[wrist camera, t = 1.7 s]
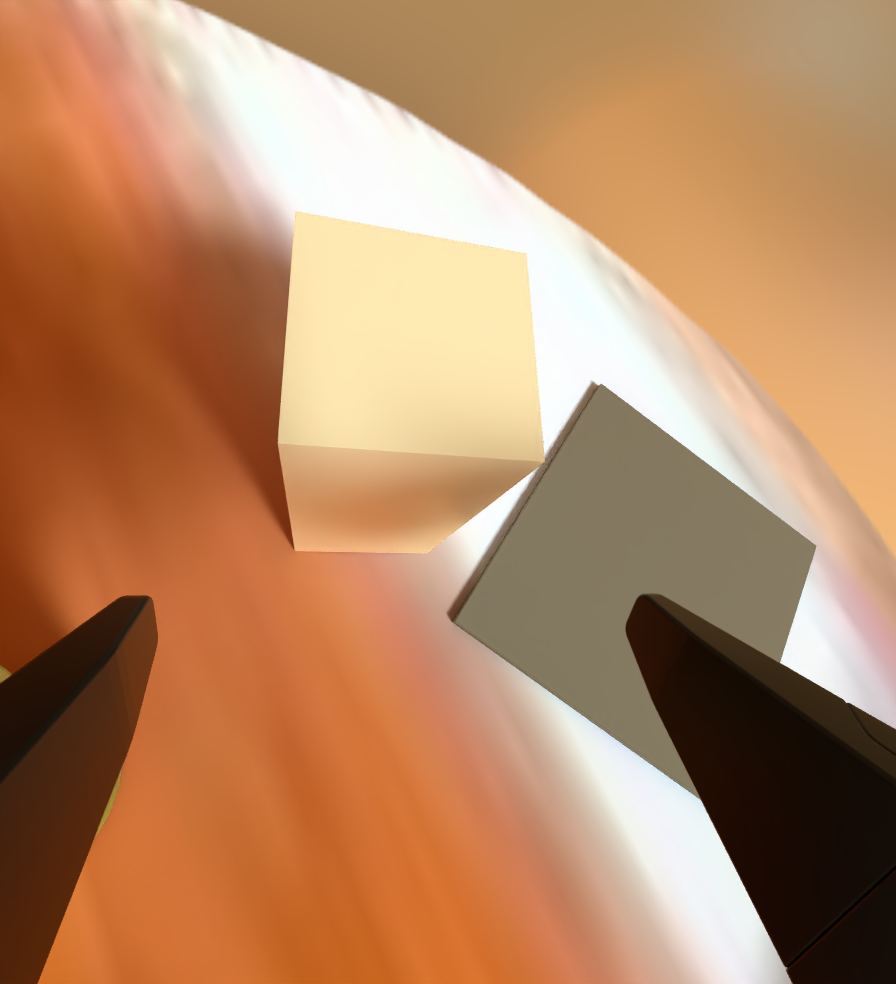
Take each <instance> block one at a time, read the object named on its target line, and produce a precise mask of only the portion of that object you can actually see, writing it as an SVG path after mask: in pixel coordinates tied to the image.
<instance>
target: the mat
mask: <svg viewBox="0 0 896 984" xmlns="http://www.w3.org/2000/svg"><path fill="white" fill-rule="evenodd" d="M815 549H816V545H814V544H813V543H812V542H810V541H809V540H808V539H806V538H805V537H804V536H803V535H801V534H800V533H799V532H797V531H796V530H795V529H793V528H792V527H791V526H789V525H788V524H787V523H785V522H784V521H783V520H781V519H780V518H779V517H777V516H776V515H775V514H773V513H772V512H771V511H769V510H768V509H767V508H765V507H764V506H763V505H761V504H760V503H759V502H757V501H756V500H755V499H753V498H752V497H751V496H749V495H748V494H747V493H746V492H744V491H743V490H742V489H740V488H739V487H738V486H736V485H735V484H734V483H732V482H731V481H730V480H728V479H727V478H726V477H724V476H723V475H722V474H720V473H719V472H718V471H716V470H715V469H714V468H712V467H711V466H710V465H708V464H707V463H706V462H704V461H703V460H702V459H700V458H699V457H698V456H696V455H695V454H694V453H692V452H691V451H690V450H688V449H687V448H686V447H685V446H683V445H682V444H681V443H679V442H678V441H677V440H675V439H674V438H673V437H671V436H670V435H669V434H667V433H666V432H665V431H663V430H662V429H661V428H659V427H658V426H657V425H655V424H654V423H653V422H651V421H650V420H649V419H647V418H646V417H645V416H643V415H642V414H641V413H639V412H638V411H637V410H635V409H634V408H633V407H631V406H630V405H629V404H628V403H626V402H625V401H624V400H622V399H621V398H620V397H618V396H617V395H616V394H614V393H613V392H612V391H610V390H609V389H608V388H606V387H605V386H604V385H602V384H600V385H599V386H598V387H597V388H596V390H595V392H594V393H593V395H592V397H591V398H590V400H589V401H588V403H587V405H586V406H585V408H584V409H583V411H582V413H581V414H580V416H579V418H578V419H577V421H576V422H575V424H574V426H573V427H572V429H571V431H570V432H569V434H568V435H567V437H566V439H565V440H564V442H563V444H562V445H561V447H560V448H559V450H558V452H557V453H556V455H555V457H554V458H553V460H552V461H551V463H550V465H549V466H548V468H547V469H546V471H545V473H544V474H543V476H542V478H541V479H540V481H539V482H538V484H537V486H536V487H535V489H534V491H533V492H532V494H531V495H530V497H529V499H528V500H527V502H526V504H525V505H524V507H523V508H522V510H521V512H520V513H519V515H518V517H517V518H516V520H515V521H514V523H513V525H512V526H511V528H510V529H509V531H508V533H507V534H506V536H505V538H504V539H503V541H502V542H501V544H500V546H499V547H498V549H497V551H496V552H495V554H494V555H493V557H492V559H491V560H490V562H489V564H488V565H487V567H486V568H485V570H484V572H483V573H482V575H481V577H480V578H479V580H478V581H477V583H476V585H475V586H474V588H473V589H472V591H471V593H470V594H469V596H468V598H467V599H466V601H465V602H464V604H463V606H462V607H461V609H460V611H459V612H458V614H457V615H456V617H455V619H454V620H453V623H454V624H456V625H457V626H458V627H460V628H461V629H463V630H464V631H465V632H467V633H468V634H470V635H471V636H472V637H474V638H475V639H477V640H478V641H479V642H481V643H482V644H484V645H485V646H486V647H488V648H489V649H491V650H492V651H493V652H495V653H496V654H498V655H499V656H500V657H502V658H503V659H505V660H506V661H507V662H509V663H510V664H512V665H513V666H514V667H516V668H517V669H519V670H520V671H521V672H523V673H524V674H526V675H527V676H528V677H530V678H531V679H533V680H534V681H535V682H537V683H538V684H540V685H541V686H542V687H544V688H545V689H547V690H548V691H549V692H551V693H552V694H554V695H555V696H556V697H558V698H559V699H561V700H562V701H563V702H565V703H566V704H567V705H569V706H570V707H572V708H573V709H574V710H576V711H577V712H579V713H580V714H581V715H583V716H584V717H586V718H587V719H588V720H590V721H591V722H593V723H594V724H595V725H597V726H598V727H600V728H601V729H602V730H604V731H605V732H607V733H608V734H609V735H611V736H612V737H614V738H615V739H616V740H618V741H619V742H621V743H622V744H623V745H625V746H626V747H628V748H629V749H630V750H632V751H633V752H635V753H636V754H637V755H639V756H640V757H642V758H643V759H644V760H646V761H647V762H649V763H650V764H651V765H653V766H654V767H656V768H657V769H658V770H660V771H661V772H663V773H664V774H665V775H667V776H668V777H670V778H671V779H672V780H674V781H675V782H677V783H678V784H679V785H681V786H682V787H684V788H685V789H686V790H688V791H689V792H691V793H692V794H693V795H695V796H696V797H697V798H699V799H700V797H699V795H698V793H697V791H696V789H695V787H694V785H693V783H692V781H691V779H690V777H689V775H688V773H687V771H686V769H685V767H684V765H683V763H682V761H681V759H680V757H679V755H678V753H677V751H676V749H675V747H674V745H673V743H672V741H671V739H670V737H669V735H668V733H667V731H666V729H665V727H664V725H663V723H662V721H661V719H660V717H659V715H658V713H657V711H656V709H655V707H654V704H653V702H652V700H651V697H650V695H649V693H648V690H647V687H646V685H645V682H644V680H643V677H642V675H641V672H640V669H639V667H638V664H637V662H636V659H635V657H634V654H633V651H632V649H631V646H630V644H629V641H628V639H627V636H626V631H625V625H626V621H627V619H628V617H629V614H630V612H631V610H632V607H633V605H634V603H635V601H636V599H637V597H638V596H639V595H640V594H644V593H657V594H661V595H663V596H665V597H667V598H668V599H670V600H672V601H673V602H675V603H677V604H679V605H680V606H682V607H684V608H686V609H687V610H689V611H691V612H692V613H694V614H696V615H698V616H699V617H701V618H703V619H705V620H706V621H708V622H710V623H712V624H713V625H715V626H717V627H718V628H720V629H722V630H724V631H725V632H727V633H729V634H731V635H732V636H734V637H736V638H738V639H739V640H741V641H743V642H744V643H746V644H748V645H750V646H751V647H753V648H755V649H757V650H758V651H760V652H762V653H764V654H765V655H767V656H769V657H770V658H772V659H774V660H776V661H777V662H779V663H780V661H781V657H782V654H783V651H784V648H785V645H786V642H787V638H788V635H789V632H790V629H791V626H792V622H793V619H794V616H795V613H796V610H797V606H798V603H799V600H800V597H801V594H802V590H803V587H804V584H805V581H806V578H807V575H808V571H809V568H810V565H811V562H812V559H813V555H814V552H815ZM700 800H701V799H700Z"/></svg>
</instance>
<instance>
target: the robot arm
mask: <svg viewBox="0 0 896 984" xmlns="http://www.w3.org/2000/svg"><path fill="white" fill-rule="evenodd" d="M625 631H626V636H627V639H628V641H629V644H630V646H631V649H632V651H633V654H634V657H635V659H636V662H637V664H638V667H639V669H640V672H641V675H642V677H643V680H644V682H645V685H646V687H647V690H648V693H649V695H650V697H651V700H652V702H653V704H654V707H655V709H656V711H657V713H658V715H659V717H660V719H661V721H662V723H663V725H664V727H665V729H666V731H667V733H668V735H669V737H670V739H671V741H672V743H673V745H674V747H675V749H676V751H677V753H678V755H679V757H680V759H681V761H682V763H683V765H684V767H685V769H686V771H687V773H688V775H689V777H690V779H691V781H692V783H693V785H694V787H695V789H696V791H697V793H698V795H699V797H700V799H701V801H702V803H703V805H704V807H705V809H706V811H707V813H708V815H709V817H710V819H711V821H712V823H713V825H714V827H715V829H716V831H717V833H718V835H719V837H720V839H721V841H722V843H723V845H724V847H725V849H726V851H727V853H728V855H729V857H730V859H731V861H732V863H733V865H734V867H735V869H736V871H737V873H738V875H739V877H740V879H741V881H742V883H743V885H744V887H745V889H746V891H747V893H748V895H749V897H750V899H751V901H752V903H753V905H754V907H755V909H756V911H757V913H758V915H759V917H760V919H761V921H762V923H763V925H764V927H765V929H766V931H767V933H768V935H769V937H770V939H771V941H772V943H773V945H774V947H775V949H776V951H777V953H778V955H779V957H780V959H781V961H782V963H783V965H784V966H785V967H787V968H786V972H787V974H788V976H789V978H790V980H791V982H792V984H896V729H894V728H892V727H891V726H889V725H887V724H885V723H884V722H882V721H880V720H878V719H876V718H875V717H873V716H871V715H869V714H868V713H866V712H864V711H862V710H861V709H859V708H857V707H856V706H854V705H852V704H850V703H846V702H845V701H844V700H843V699H842V698H840V697H838V696H836V695H835V694H833V693H831V692H829V691H828V690H826V689H824V688H822V687H821V686H819V685H817V684H816V683H814V682H812V681H810V680H809V679H807V678H805V677H803V676H802V675H800V674H798V673H796V672H795V671H793V670H791V669H790V668H788V667H786V666H784V665H783V664H781V663H779V662H777V661H776V660H774V659H772V658H770V657H769V656H767V655H765V654H764V653H762V652H760V651H758V650H757V649H755V648H753V647H751V646H750V645H748V644H746V643H744V642H743V641H741V640H739V639H738V638H736V637H734V636H732V635H731V634H729V633H727V632H725V631H724V630H722V629H720V628H718V627H717V626H715V625H713V624H712V623H710V622H708V621H706V620H705V619H703V618H701V617H699V616H698V615H696V614H694V613H692V612H691V611H689V610H687V609H686V608H684V607H682V606H680V605H679V604H677V603H675V602H673V601H672V600H670V599H668V598H667V597H665V596H663V595H661V594H657V593H644V594H640V595H639V596H638V597H637V599H636V601H635V603H634V605H633V607H632V610H631V612H630V614H629V617H628V619H627V621H626V625H625ZM157 641H158V632H157V625H156V617H155V610H154V603H153V600H152V598H151V597H149V596H122V597H120V598H118V599H116V600H115V601H114V602H112V603H111V604H109V605H108V606H107V607H105V608H104V609H103V610H101V611H100V612H98V613H97V614H96V615H94V616H93V617H91V618H90V619H89V620H87V621H86V622H84V623H83V624H82V625H80V626H79V627H77V628H76V629H75V630H73V631H72V632H70V633H69V634H68V635H66V636H65V637H63V638H62V639H61V640H59V641H58V642H57V643H55V644H54V645H52V646H51V647H50V648H48V649H47V650H45V651H44V652H43V653H41V654H40V655H38V656H37V657H36V658H34V659H33V660H31V661H30V662H29V663H27V664H26V665H24V666H23V667H22V668H20V669H19V670H17V671H16V672H15V673H13V674H12V675H11V676H9V677H8V678H6V679H5V680H4V681H2V682H1V683H0V984H38V981H39V979H40V976H41V974H42V971H43V968H44V966H45V963H46V961H47V958H48V956H49V953H50V950H51V948H52V945H53V943H54V940H55V938H56V935H57V933H58V930H59V927H60V925H61V922H62V920H63V917H64V915H65V912H66V909H67V907H68V904H69V902H70V899H71V897H72V894H73V892H74V889H75V886H76V884H77V881H78V879H79V876H80V874H81V871H82V868H83V866H84V863H85V861H86V858H87V856H88V853H89V851H90V848H91V845H92V843H93V840H94V838H95V835H96V833H97V830H98V827H99V825H100V822H101V820H102V817H103V815H104V812H105V810H106V807H107V804H108V802H109V799H110V797H111V794H112V792H113V789H114V786H115V784H116V781H117V779H118V776H119V774H120V771H121V769H122V766H123V763H124V761H125V758H126V756H127V753H128V750H129V747H130V745H131V742H132V739H133V735H134V732H135V728H136V725H137V721H138V717H139V713H140V710H141V706H142V702H143V698H144V694H145V690H146V687H147V683H148V679H149V675H150V671H151V667H152V664H153V660H154V656H155V652H156V648H157Z"/></svg>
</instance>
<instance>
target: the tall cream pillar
mask: <svg viewBox="0 0 896 984" xmlns="http://www.w3.org/2000/svg"><path fill="white" fill-rule="evenodd" d="M278 448H279V455H280V461H281V467H282V473H283V480H284V486H285V492H286V498H287V505H288V511H289V517H290V523H291V530H292V536H293V542H294V548H295V551H315V552H374V553H428V552H429V551H430V550H432V549H433V548H434V547H436V546H437V545H438V544H439V543H441V542H442V541H443V540H445V539H446V538H447V537H448V536H450V535H451V534H452V533H454V532H455V531H456V530H457V529H459V528H460V527H461V526H463V525H464V524H465V523H467V522H468V521H469V520H470V519H472V518H473V517H474V516H476V515H477V514H478V513H479V512H481V511H482V510H483V509H485V508H486V507H487V506H488V505H490V504H491V503H492V502H494V501H495V500H496V499H497V498H499V497H500V496H501V495H503V494H504V493H505V492H506V491H508V490H509V489H510V488H512V487H513V486H514V485H516V484H517V483H518V482H519V481H521V480H522V479H523V478H525V477H526V476H527V475H528V474H530V473H531V472H532V471H534V470H535V469H536V468H537V467H539V466H540V465H541V464H543V463H544V462H545V459H544V448H543V437H542V425H541V414H540V403H539V391H538V380H537V369H536V357H535V346H534V335H533V324H532V312H531V301H530V290H529V278H528V267H527V256H526V254H525V253H520V252H515V251H509V250H504V249H498V248H493V247H487V246H482V245H476V244H471V243H465V242H460V241H454V240H449V239H444V238H438V237H433V236H427V235H422V234H416V233H411V232H405V231H400V230H394V229H389V228H384V227H378V226H373V225H367V224H362V223H356V222H351V221H345V220H340V219H334V218H329V217H324V216H318V215H313V214H307V213H302V212H296V211H295V221H294V234H293V248H292V261H291V274H290V287H289V301H288V314H287V327H286V340H285V354H284V367H283V380H282V393H281V407H280V420H279V433H278Z"/></svg>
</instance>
